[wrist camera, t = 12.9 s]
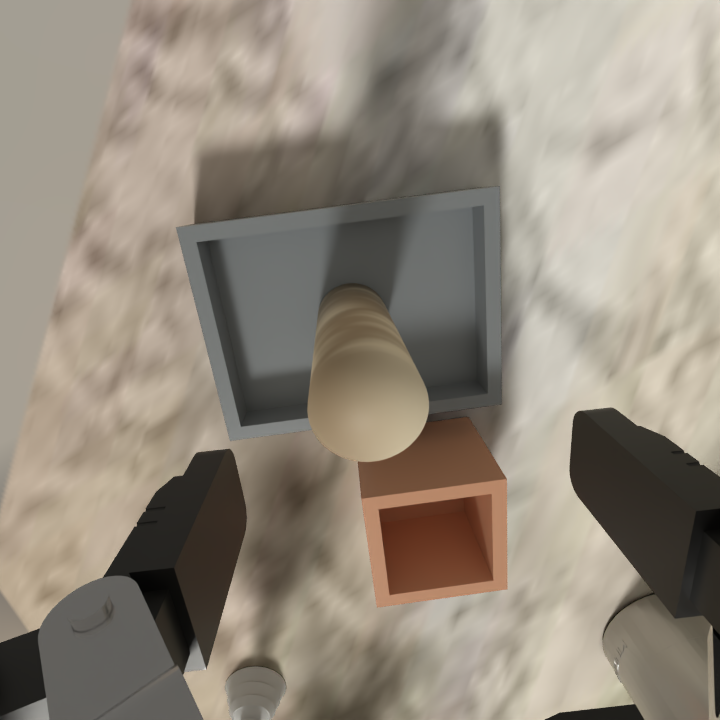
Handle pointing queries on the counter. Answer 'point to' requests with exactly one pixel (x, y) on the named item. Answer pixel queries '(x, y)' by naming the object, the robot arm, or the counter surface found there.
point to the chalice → (254, 693)
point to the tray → (342, 266)
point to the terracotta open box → (436, 517)
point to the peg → (363, 379)
